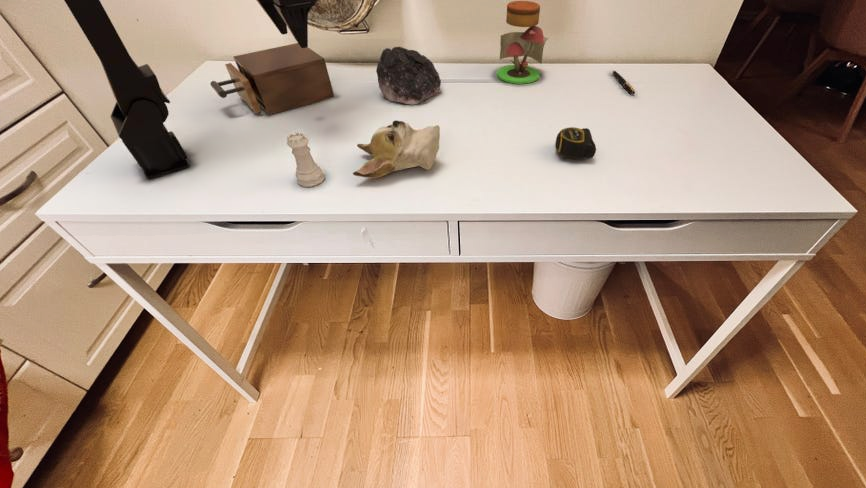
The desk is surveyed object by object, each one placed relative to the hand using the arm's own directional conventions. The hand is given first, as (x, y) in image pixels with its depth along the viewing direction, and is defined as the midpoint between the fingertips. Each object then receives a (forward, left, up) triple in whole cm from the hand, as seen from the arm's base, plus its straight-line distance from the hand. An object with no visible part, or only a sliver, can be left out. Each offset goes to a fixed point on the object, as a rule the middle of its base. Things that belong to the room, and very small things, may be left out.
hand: (294, 40), depth 70 cm
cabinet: (0, +14, -14) cm, 20 cm away
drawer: (-5, +14, -14) cm, 20 cm away
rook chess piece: (-10, -20, -15) cm, 27 cm away
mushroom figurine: (+49, -9, -15) cm, 52 cm away
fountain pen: (+65, -28, -15) cm, 72 cm away
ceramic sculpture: (+4, -26, -15) cm, 30 cm away
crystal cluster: (+22, -1, -15) cm, 26 cm away
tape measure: (+32, -42, -15) cm, 55 cm away
